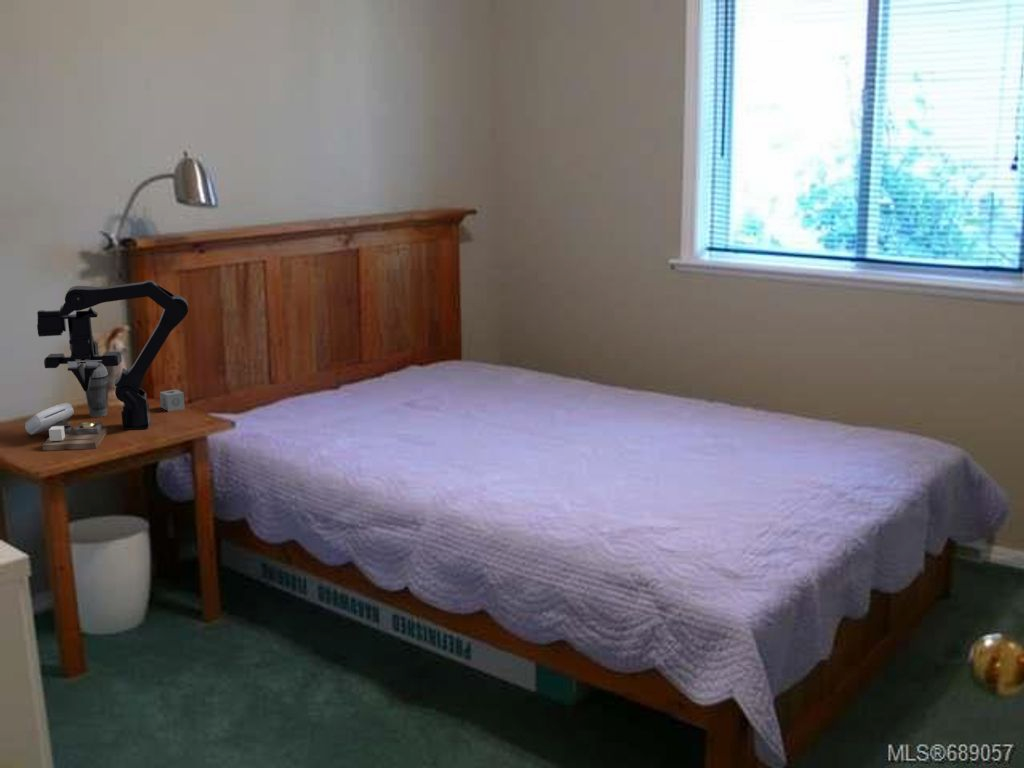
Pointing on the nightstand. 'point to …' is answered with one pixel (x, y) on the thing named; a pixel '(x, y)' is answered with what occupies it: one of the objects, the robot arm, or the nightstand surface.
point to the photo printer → (49, 418)
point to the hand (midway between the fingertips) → (86, 391)
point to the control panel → (78, 438)
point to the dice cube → (172, 400)
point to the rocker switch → (64, 423)
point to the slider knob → (57, 433)
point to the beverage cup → (98, 392)
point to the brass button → (88, 425)
